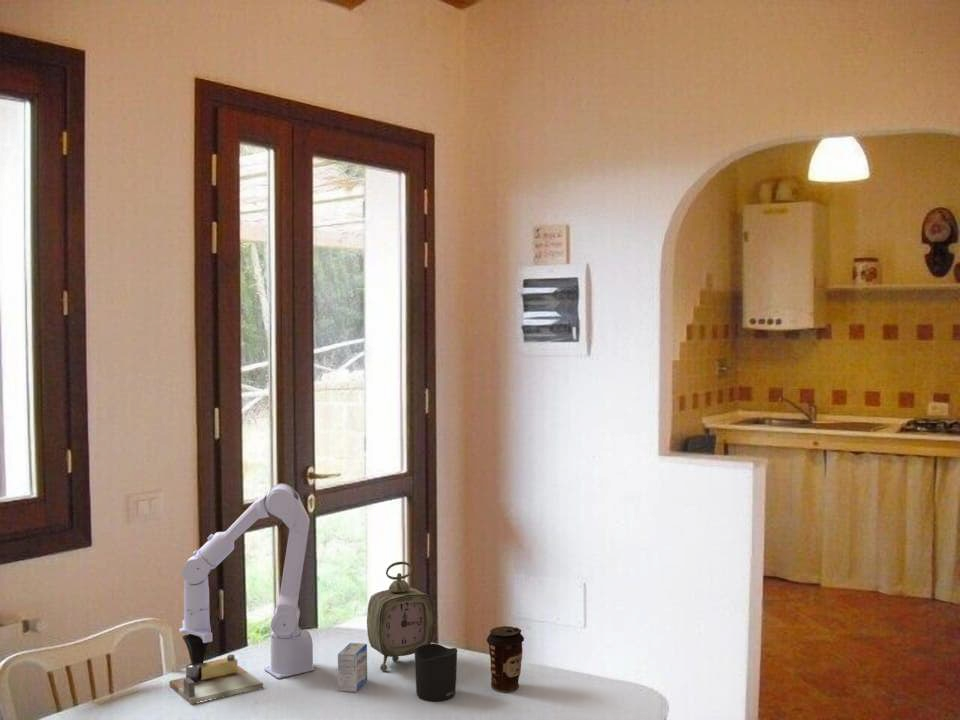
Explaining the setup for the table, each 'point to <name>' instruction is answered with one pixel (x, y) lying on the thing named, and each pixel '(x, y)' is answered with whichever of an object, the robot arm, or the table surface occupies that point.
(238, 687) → the metal latch base plate
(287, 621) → the robot arm
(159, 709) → the table surface
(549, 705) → the table surface
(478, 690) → the table surface
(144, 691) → the table surface
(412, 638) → the tabletop clock
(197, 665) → the latch bar
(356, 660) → the medicine box
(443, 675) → the pen holder
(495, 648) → the coffee cup
